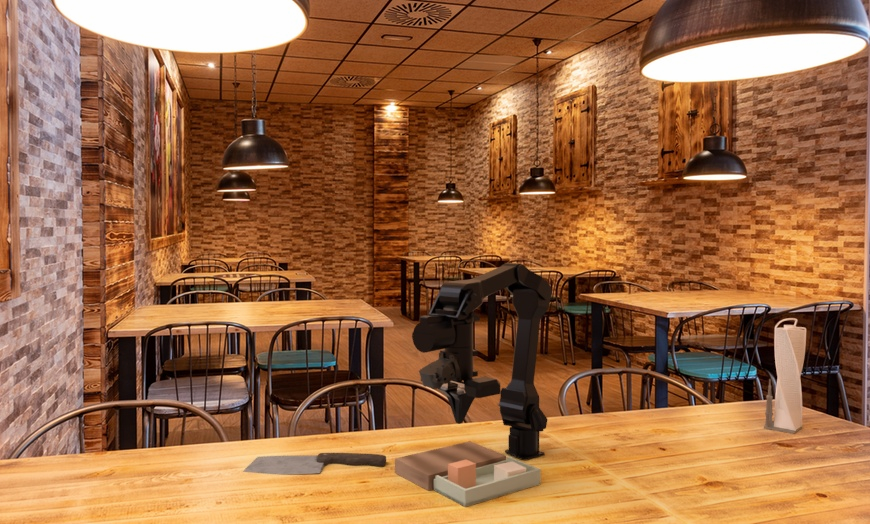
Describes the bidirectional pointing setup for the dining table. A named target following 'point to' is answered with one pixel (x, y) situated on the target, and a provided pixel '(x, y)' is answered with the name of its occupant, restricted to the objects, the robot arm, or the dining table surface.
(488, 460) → the plate
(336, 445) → the dining table surface
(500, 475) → the pale pink cube
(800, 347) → the skyscraper
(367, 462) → the cleaver
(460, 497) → the tray
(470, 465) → the salmon pink cube
